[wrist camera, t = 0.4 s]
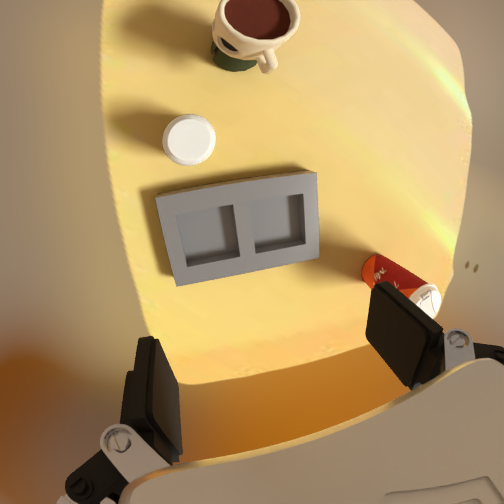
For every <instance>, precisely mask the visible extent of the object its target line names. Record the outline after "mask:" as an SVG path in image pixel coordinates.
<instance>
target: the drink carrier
mask: <svg viewBox="0 0 504 504" xmlns="http://www.w3.org/2000/svg"><path fill="white" fill-rule="evenodd" d="M155 199H156V204H157V209H158V214H159V218H160V223H161V227H162V232H163V236H164V240H165V244H166V249H167V253H168V257H169V261H170V264H171V268H172V272H173V276H174V280H175V283H176V287H177V286H183V285H188V284H193V283H198V282H203V281H209V280H214V279H219V278H224V277H229V276H234V275H239V274H244V273H249V272H254V271H259V270H264V269H269V268H273V267H278V266H283V265H288V264H293V263H297V262H302V261H307V260H311V259H316V258H319V216H318V191H317V173H316V172H313V171H309V170H306V171H297V172H288V173H280V174H272V175H265V176H257V177H250V178H243V179H237V180H230V181H224V182H218V183H212V184H207V185H201V186H195V187H190V188H185V189H180V190H175V191H170V192H165V193H160V194H157V196H156V198H155Z"/></svg>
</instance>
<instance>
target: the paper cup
mask: <svg viewBox="0 0 504 504" xmlns="http://www.w3.org/2000/svg"><path fill="white" fill-rule="evenodd" d="M362 278H363V280H364V281H365V283H366V284H367V285H368V286H369V287H370V288H371V289H372V288H374V285H375V284H376V283H380V282H383V281H388V282H389V283H391V284H392V285H393V286H394V287H396V288H397V289H398V290H399V291H400V292H402V293H403V294H404V295H405V296H406V297H408V298H409V299H410V300H411V301H412V302H413V303H415V304H416V305H417V306H418V307H419V308H421V309H422V310H423V311H424V312H425V313H426V314H427V315H429V316H430V317H431V318H432V319H433V318H434V316H435V315H436V313H437V312H438V309H439V307H440V303H441V295H440V293H439V292H438V289H437V287H436V286H435V285H434V284H431V283H427V282H425V281H424V280H422V279H421V278H419V277H418V276H416V275H414V274H413V273H411V272H410V271H408V270H406V269H405V268H403V267H402V266H400V265H398V264H397V263H395V262H393V261H391V260H390V259H388V258H386V257H384V256H382V255H374V256H372V257H370V258H369V259H368V260H367V261H366V262H365V264H364V266H363V268H362Z"/></svg>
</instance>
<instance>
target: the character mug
mask: <svg viewBox="0 0 504 504" xmlns="http://www.w3.org/2000/svg"><path fill="white" fill-rule="evenodd" d="M300 19H301V17H300V12H299V7H298V5H297V4H296V3H295V1H294V0H221V1H220V3H219V6H218V8H217V11H216V13H215V19H214V22H213V25H212V35H213V39H214V41H213V42H212V47H211V54H212V52H213V50H214V49H215V52H216V56H215V58H214V62H215V63H217V64H218V65H219V66H220V67H221V68H223V69H226V70H229V71H232V72H237V71H245V70H247V69H249V68H251V67H253V66H255V65H256V64H257V62H258V65H259V67H260V69H261V71H262V73H266V74H268V73H270V72H271V71H273V70H274V69H275V68H277V66H278V63H277V59H276V56H275V54H274V51H275V50H277V49H278V48H279V47H280V46H281V45H282V44H283V43H284V42H286V41H287V40H288V39H289V38H290V37H291V36H292V35H293V34H294V33H295V32H296V31H297V29H298V26H299V22H300Z"/></svg>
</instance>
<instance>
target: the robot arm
mask: <svg viewBox="0 0 504 504" xmlns="http://www.w3.org/2000/svg"><path fill="white" fill-rule="evenodd" d="M442 331H443V328H442V327H441V326H440V325H439V324H438V323H437V322H435V321H434V320H433V319H432V318H431V317H430V316H429V315H427V314H426V313H425V312H424V311H423V310H422V309H421V308H419V307H418V306H417V305H416V304H415V303H413V302H412V301H411V300H410V299H409V298H408V297H406V296H405V295H404V294H403V293H402V292H400V291H399V290H398V289H397V288H396V287H394V286H393V285H392V284H391V283H389V282H388V281H383V282H380V283H376V284H375V285H374V288H372V290H371V297H370V305H369V313H368V320H367V326H366V338H367V340H368V341H369V342H370V344H371V345H372V346H373V347H374V348H375V350H376V351H377V352H378V353H379V355H380V356H381V357H382V358H383V359H384V361H385V362H386V363H387V365H388V366H389V367H390V368H391V369H392V371H393V372H394V373H395V374H396V376H397V377H398V378H399V379H400V381H401V382H402V383H403V384H404V385H405V386H408V387H409V388H410V390H411V391H410V392H408V393H406V394H405V395H403V396H401V397H399V398H397V399H395V400H393V401H391V402H389V403H387V404H385V405H383V406H380V407H379V408H376V409H374V410H372V411H369V412H367V413H365V414H363V415H360V416H358V417H356V418H353V419H351V420H348V421H346V422H344V423H341V424H338V425H335V426H333V427H330V428H327V429H325V430H322V431H319V432H316V433H313V434H310V435H307V436H304V437H301V438H297V439H294V440H291V441H287V442H284V443H280V444H276V445H273V446H269V447H265V448H261V449H256V450H252V451H247V452H243V453H238V454H233V455H228V456H223V457H217V458H211V459H205V460H199V461H193V462H187V463H181V464H177V465H173V464H172V463H173V462H179V455H182V454H183V449H182V437H181V424H180V405H179V387H178V383H177V380H176V378H175V376H174V374H173V371H172V369H171V367H170V365H169V362H168V360H167V358H166V356H165V353H164V351H163V349H162V346H161V344H160V341H159V339H154V337H153V336H148V337H142V338H139V339H138V345H137V351H136V357H135V364H134V370H133V371H128V372H127V375H126V380H125V387H124V394H123V401H122V409H121V418H120V424H116V425H112V426H110V427H108V428H107V429H106V430H105V431H104V432H103V434H102V435H101V439H100V445H101V448H102V449H101V450H100V451H99V452H97V453H96V454H95V455H94V456H93V457H92V458H90V459H89V460H88V461H86V462H85V463H84V464H83V465H82V466H80V467H79V468H78V469H76V470H75V471H74V472H73V473H71V474H70V476H68V478H67V480H66V482H65V490H66V495H65V496H64V497H63V496H61V497H60V499H59V500H58V502H57V503H56V504H504V348H503V347H501V346H495V345H487V344H480V343H473V341H472V338H471V336H470V335H469V334H468V333H467V332H466V331H464V330H462V329H457V328H455V329H450V330H448V331H447V332H446V333H445V334H444V333H443V332H442ZM421 384H422V385H421Z"/></svg>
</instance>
